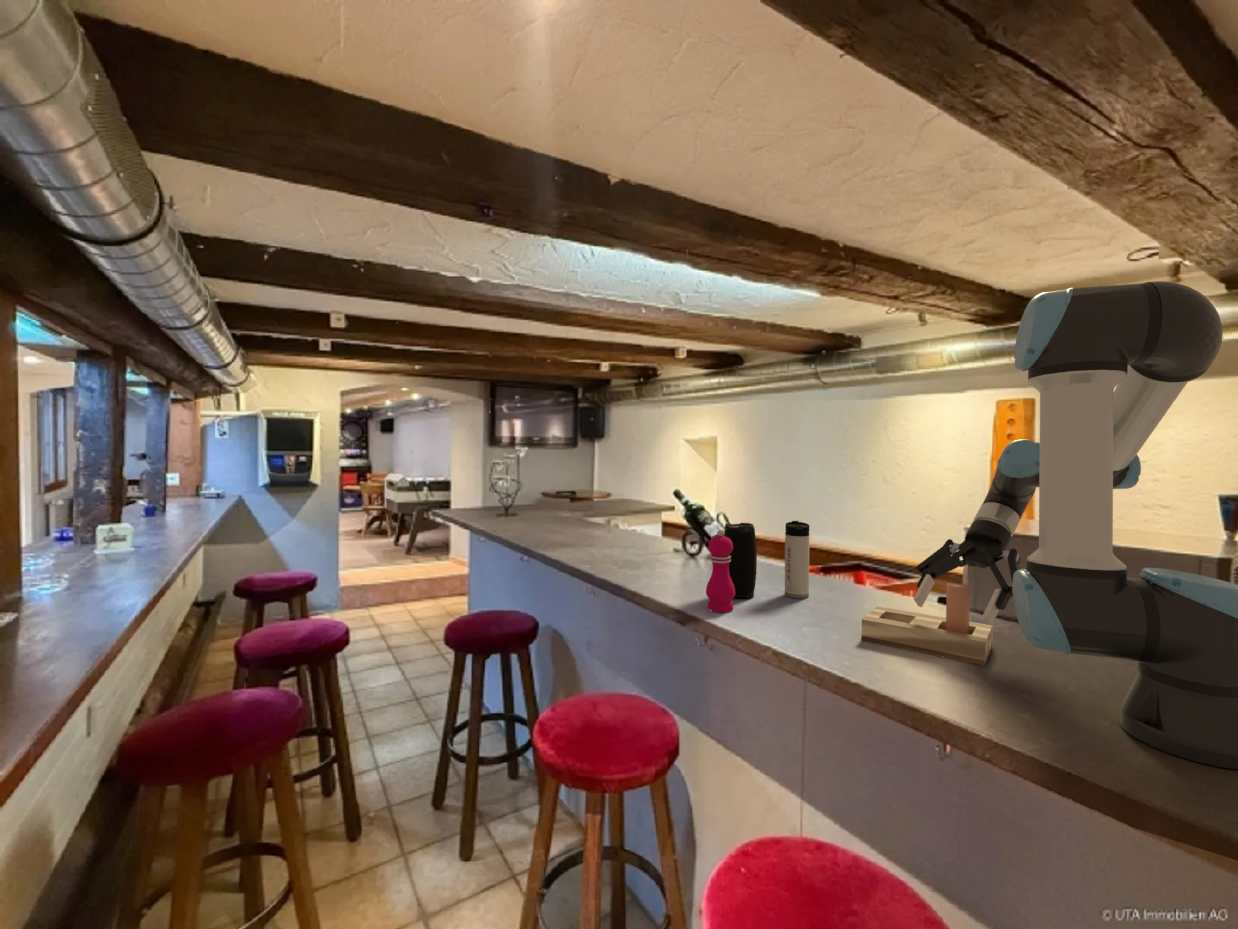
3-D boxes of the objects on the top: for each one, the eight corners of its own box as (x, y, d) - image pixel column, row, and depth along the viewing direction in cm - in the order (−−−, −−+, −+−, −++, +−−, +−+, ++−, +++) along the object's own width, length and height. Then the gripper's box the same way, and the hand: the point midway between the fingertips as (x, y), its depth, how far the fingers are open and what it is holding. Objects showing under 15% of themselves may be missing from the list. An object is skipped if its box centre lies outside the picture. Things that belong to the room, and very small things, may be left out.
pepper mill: (735, 614, 138) (735, 532, 137) (705, 612, 139) (705, 531, 139) (735, 606, 145) (735, 528, 144) (706, 604, 146) (706, 527, 146)
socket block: (984, 665, 106) (985, 642, 106) (861, 640, 120) (861, 619, 120) (992, 647, 116) (992, 625, 115) (877, 625, 129) (877, 606, 129)
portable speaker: (715, 596, 154) (716, 524, 154) (737, 590, 161) (737, 521, 160) (741, 602, 148) (741, 527, 147) (762, 596, 154) (763, 524, 153)
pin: (966, 649, 112) (968, 589, 111) (943, 645, 114) (945, 585, 114) (969, 644, 115) (971, 585, 114) (947, 640, 117) (948, 582, 117)
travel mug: (805, 592, 158) (806, 520, 157) (811, 599, 151) (812, 524, 150) (782, 592, 158) (783, 520, 157) (787, 598, 152) (787, 524, 151)
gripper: (1067, 550, 111) (1027, 641, 104) (939, 533, 132) (899, 606, 125) (1055, 525, 108) (1014, 616, 101) (926, 511, 129) (885, 586, 122)
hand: (950, 611), depth 113 cm, fingers open, 13 cm apart
